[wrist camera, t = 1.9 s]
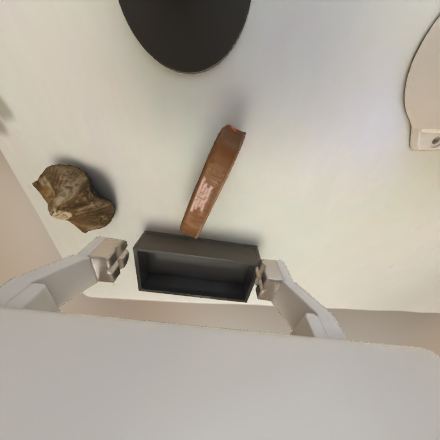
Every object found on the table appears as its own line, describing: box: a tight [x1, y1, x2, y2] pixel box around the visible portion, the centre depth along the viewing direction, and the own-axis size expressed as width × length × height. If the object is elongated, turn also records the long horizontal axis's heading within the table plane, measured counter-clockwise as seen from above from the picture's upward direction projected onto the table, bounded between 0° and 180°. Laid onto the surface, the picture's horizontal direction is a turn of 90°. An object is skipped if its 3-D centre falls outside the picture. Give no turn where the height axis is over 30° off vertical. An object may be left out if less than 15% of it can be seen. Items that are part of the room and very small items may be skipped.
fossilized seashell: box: [32, 164, 115, 233], centre depth 24 cm, size 8×7×10 cm
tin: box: [180, 125, 246, 239], centre depth 21 cm, size 15×3×8 cm, turn 155°
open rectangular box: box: [133, 231, 261, 303], centre depth 31 cm, size 21×11×5 cm, turn 81°
